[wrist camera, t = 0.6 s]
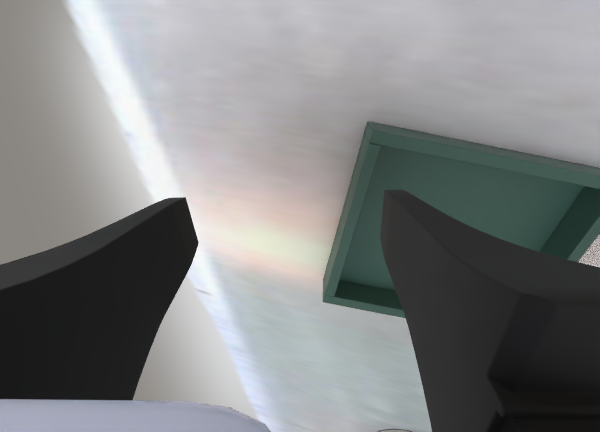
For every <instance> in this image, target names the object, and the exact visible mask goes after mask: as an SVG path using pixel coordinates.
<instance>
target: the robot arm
mask: <svg viewBox="0 0 600 432" xmlns="http://www.w3.org/2000/svg"><path fill="white" fill-rule="evenodd" d="M380 241H381V246H382V251H383V255H384V259H385V263H386V266H387V268H388V271H389V274H390V277H391V279H392V282H393V285H394V287H395V290H396V293H397V295H398V298H399V300H400V303H401V306H402V308H403V311H404V314H405V317H406V320H407V323H408V327H409V331H410V335H411V339H412V343H413V347H414V350H415V355H416V359H417V363H418V367H419V372H420V376H421V380H422V385H423V389H424V394H425V399H426V403H427V408H428V413H429V417H430V422H431V427H432V432H600V268H599V267H595V266H591V265H587V264H583V263H579V262H575V261H571V260H567V259H563V258H559V257H555V256H552V255H548V254H545V253H541V252H538V251H535V250H532V249H529V248H526V247H522V246H519V245H516V244H513V243H510V242H508V241H505V240H502V239H499V238H497V237H494V236H492V235H490V234H487V233H485V232H482V231H480V230H477V229H475V228H473V227H471V226H469V225H467V224H465V223H463V222H461V221H459V220H456V219H454V218H452V217H451V216H449V215H447V214H445V213H443V212H441V211H440V210H438V209H436V208H434V207H433V206H431V205H429V204H428V203H426V202H424V201H422V200H421V199H419V198H417V197H416V196H414V195H412V194H410V193H409V192H407V191H405V190H384V199H383V211H382V222H381V233H380ZM197 246H198V240H197V236H196V233H195V229H194V226H193V222H192V219H191V215H190V211H189V208H188V204H187V201H186V197H184V198H168V199H165V200H162V201H159V202H157V203H155V204H152V205H150V206H148V207H146V208H144V209H142V210H140V211H138V212H136V213H134V214H132V215H129V216H128V217H125V218H123V219H121V220H119V221H117V222H115V223H113V224H110V225H108V226H106V227H104V228H102V229H99V230H97V231H95V232H93V233H91V234H89V235H86V236H84V237H81V238H79V239H76V240H74V241H71V242H69V243H66V244H63V245H61V246H58V247H55V248H53V249H50V250H47V251H44V252H41V253H37V254H35V255H31V256H28V257H24V258H21V259H18V260H15V261H12V262H9V263H6V264H2V265H0V432H271V431H270V430H269V429H268V427H267V426H266V425H265V424H264V423H262V422H260V421H258V420H255V419H253V418H251V417H249V416H247V415H245V414H243V413H240V412H239V411H236V410H234V409H232V408H229V407H223V406H216V405H209V404H203V403H196V402H189V401H132V400H133V396H134V394H135V390H136V387H137V384H138V381H139V378H140V376H141V373H142V370H143V367H144V364H145V362H146V359H147V356H148V354H149V351H150V348H151V346H152V343H153V341H154V338H155V336H156V333H157V331H158V328H159V326H160V324H161V322H162V320H163V318H164V315H165V314H166V312H167V310H168V308H169V306H170V304H171V302H172V300H173V299H174V297H175V295H176V293H177V291H178V289H179V287H180V285H181V284H182V282H183V280H184V278H185V276H186V274H187V272H188V270H189V268H190V266H191V264H192V261H193V258H194V256H195V253H196V249H197Z"/></svg>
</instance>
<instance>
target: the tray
mask: <svg viewBox="0 0 600 432" xmlns="http://www.w3.org/2000/svg"><path fill="white" fill-rule="evenodd" d="M384 190H405V191H407V192H409V193H410V194H412V195H414V196H416V197H417V198H419V199H421V200H422V201H424V202H426V203H428V204H429V205H431V206H433V207H434V208H436V209H438V210H440V211H441V212H443V213H445V214H447V215H449V216H451V217H452V218H454V219H456V220H459V221H461V222H463V223H465V224H467V225H469V226H471V227H473V228H475V229H477V230H480V231H482V232H485V233H487V234H490V235H492V236H494V237H497V238H499V239H502V240H505V241H508V242H510V243H513V244H516V245H519V246H522V247H526V248H529V249H532V250H535V251H538V252H541V253H545V254H548V255H552V256H555V257H559V258H563V259H567V260H571V261H575V262H578V261H579V259H580V258H581V257H582V256H583V254H584V253H585V252H586V250H587V249H588V248H589V247H590V245H591V244H592V243H593V241H594V240H595V239H596V238H597V236H598V235H599V234H600V168H596V167H591V166H586V165H581V164H576V163H571V162H566V161H561V160H557V159H552V158H547V157H542V156H537V155H532V154H527V153H522V152H517V151H512V150H507V149H502V148H497V147H492V146H487V145H482V144H477V143H472V142H467V141H463V140H458V139H453V138H448V137H443V136H438V135H433V134H428V133H423V132H418V131H413V130H408V129H403V128H398V127H393V126H388V125H383V124H378V123H374V122H369V121H368V122H367V125H366V128H365V132H364V136H363V139H362V143H361V146H360V150H359V153H358V157H357V161H356V164H355V168H354V171H353V175H352V178H351V182H350V186H349V189H348V193H347V196H346V200H345V203H344V207H343V211H342V214H341V218H340V221H339V225H338V229H337V232H336V236H335V239H334V243H333V246H332V250H331V254H330V257H329V261H328V264H327V268H326V271H325V275H324V279H323V302H325V303H331V304H336V305H341V306H346V307H351V308H356V309H361V310H367V311H372V312H377V313H382V314H387V315H392V316H398V317H403V318H406V317H405V314H404V311H403V308H402V306H401V303H400V300H399V298H398V295H397V293H396V290H395V287H394V285H393V282H392V279H391V277H390V274H389V271H388V268H387V266H386V263H385V259H384V255H383V251H382V246H381V241H380V233H381V222H382V211H383V199H384Z"/></svg>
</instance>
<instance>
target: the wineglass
mask: <svg viewBox="0 0 600 432" xmlns="http://www.w3.org/2000/svg"><path fill="white" fill-rule="evenodd" d="M380 432H410V431H406V430H384V431H380Z"/></svg>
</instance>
